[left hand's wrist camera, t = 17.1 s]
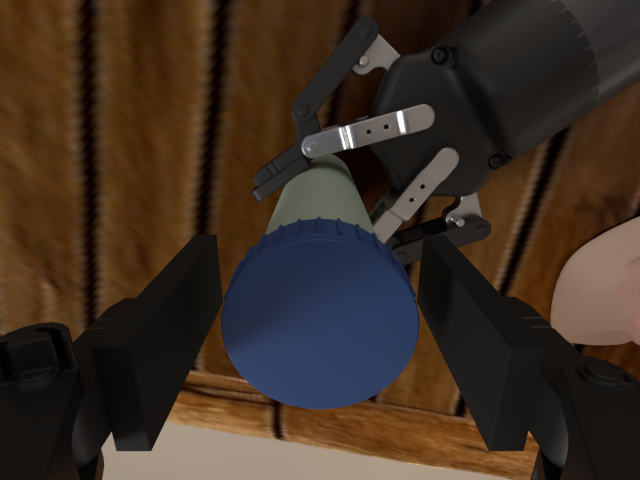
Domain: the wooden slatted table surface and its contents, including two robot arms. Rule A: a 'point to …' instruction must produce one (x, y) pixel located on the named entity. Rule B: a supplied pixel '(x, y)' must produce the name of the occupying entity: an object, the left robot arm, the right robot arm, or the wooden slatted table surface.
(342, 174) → the jar
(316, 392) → the lid
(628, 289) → the anatomical model
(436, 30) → the wooden slatted table surface
